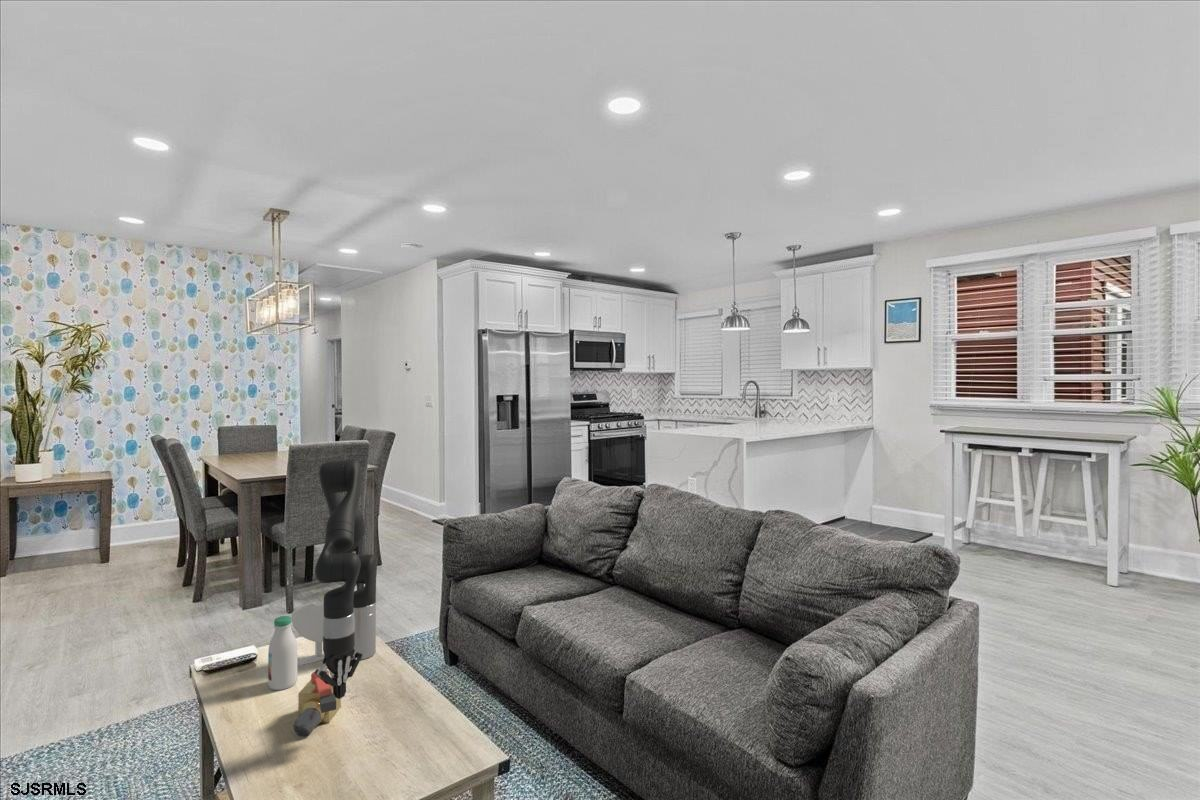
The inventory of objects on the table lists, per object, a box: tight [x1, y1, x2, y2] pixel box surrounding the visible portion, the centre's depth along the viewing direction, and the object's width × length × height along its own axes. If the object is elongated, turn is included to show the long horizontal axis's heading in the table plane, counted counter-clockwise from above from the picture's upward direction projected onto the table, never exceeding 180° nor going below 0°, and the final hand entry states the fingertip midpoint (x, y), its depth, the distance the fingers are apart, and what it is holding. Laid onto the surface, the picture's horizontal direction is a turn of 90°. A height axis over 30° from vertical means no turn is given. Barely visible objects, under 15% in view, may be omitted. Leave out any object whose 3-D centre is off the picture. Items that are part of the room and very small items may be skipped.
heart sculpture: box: [291, 600, 325, 666], centre depth 199 cm, size 16×5×18 cm, turn 128°
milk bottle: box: [267, 615, 298, 691], centre depth 181 cm, size 8×8×20 cm
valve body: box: [293, 679, 342, 737], centre depth 165 cm, size 20×8×9 cm, turn 2°
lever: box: [310, 670, 336, 713], centre depth 158 cm, size 20×4×2 cm, turn 31°
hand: (339, 697), depth 156 cm, fingers closed
